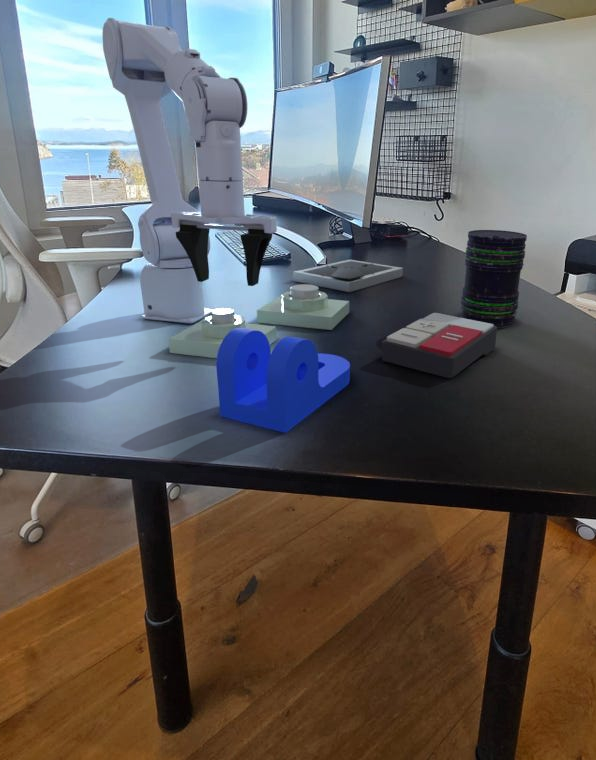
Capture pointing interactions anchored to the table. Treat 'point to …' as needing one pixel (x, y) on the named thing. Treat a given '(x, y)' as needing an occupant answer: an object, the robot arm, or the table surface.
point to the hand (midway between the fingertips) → (227, 282)
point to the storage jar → (492, 276)
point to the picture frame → (347, 275)
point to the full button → (304, 291)
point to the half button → (222, 316)
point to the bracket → (275, 379)
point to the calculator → (440, 344)
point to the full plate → (304, 311)
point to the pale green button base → (211, 336)
